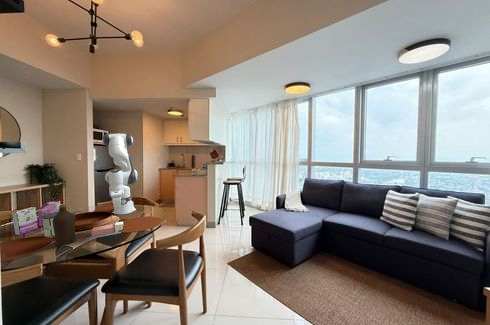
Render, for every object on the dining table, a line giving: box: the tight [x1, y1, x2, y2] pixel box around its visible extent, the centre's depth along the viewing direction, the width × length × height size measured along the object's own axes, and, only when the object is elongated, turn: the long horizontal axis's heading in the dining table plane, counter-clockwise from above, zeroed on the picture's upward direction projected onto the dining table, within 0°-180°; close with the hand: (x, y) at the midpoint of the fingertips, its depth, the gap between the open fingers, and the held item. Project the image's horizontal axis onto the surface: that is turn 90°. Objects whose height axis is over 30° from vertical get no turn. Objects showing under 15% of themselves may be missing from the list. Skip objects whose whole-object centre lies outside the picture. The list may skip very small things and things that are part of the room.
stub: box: [114, 221, 124, 232], centre depth 148 cm, size 5×5×5 cm
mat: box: [89, 230, 122, 240], centre depth 147 cm, size 12×28×1 cm, turn 120°
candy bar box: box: [11, 206, 40, 236], centre depth 146 cm, size 11×5×16 cm, turn 168°
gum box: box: [37, 200, 62, 227], centre depth 165 cm, size 24×8×14 cm, turn 28°
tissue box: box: [42, 212, 59, 237], centre depth 142 cm, size 10×10×14 cm
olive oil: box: [52, 204, 77, 247], centre depth 130 cm, size 11×11×25 cm
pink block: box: [91, 223, 115, 237], centre depth 144 cm, size 7×12×4 cm, turn 120°
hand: (118, 210), depth 147 cm, fingers open, 8 cm apart
